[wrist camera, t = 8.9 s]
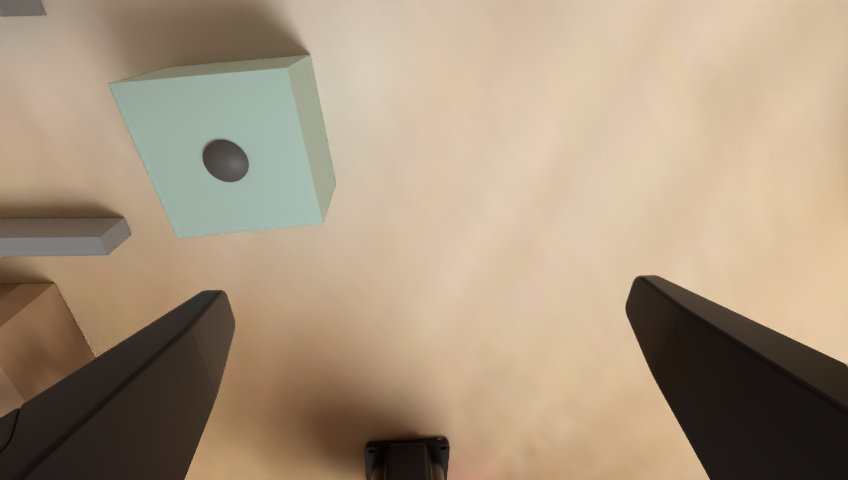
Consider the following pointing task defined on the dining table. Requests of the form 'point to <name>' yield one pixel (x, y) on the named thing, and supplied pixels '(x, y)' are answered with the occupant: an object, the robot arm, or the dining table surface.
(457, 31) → the dining table surface
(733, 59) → the dining table surface
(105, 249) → the grey u-shaped bracket
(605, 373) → the dining table surface
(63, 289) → the dining table surface
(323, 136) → the block
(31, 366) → the block
